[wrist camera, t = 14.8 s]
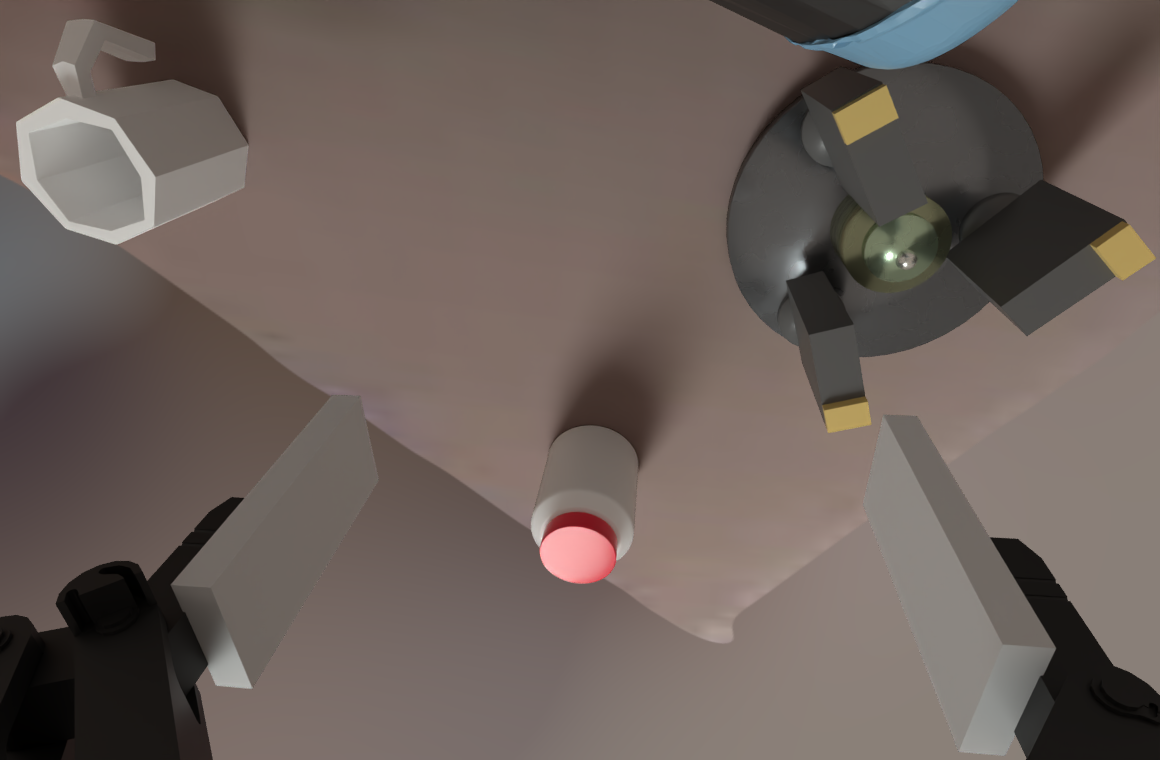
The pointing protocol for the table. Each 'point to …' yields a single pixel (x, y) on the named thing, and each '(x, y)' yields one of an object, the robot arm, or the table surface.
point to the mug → (126, 143)
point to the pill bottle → (586, 503)
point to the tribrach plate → (809, 191)
